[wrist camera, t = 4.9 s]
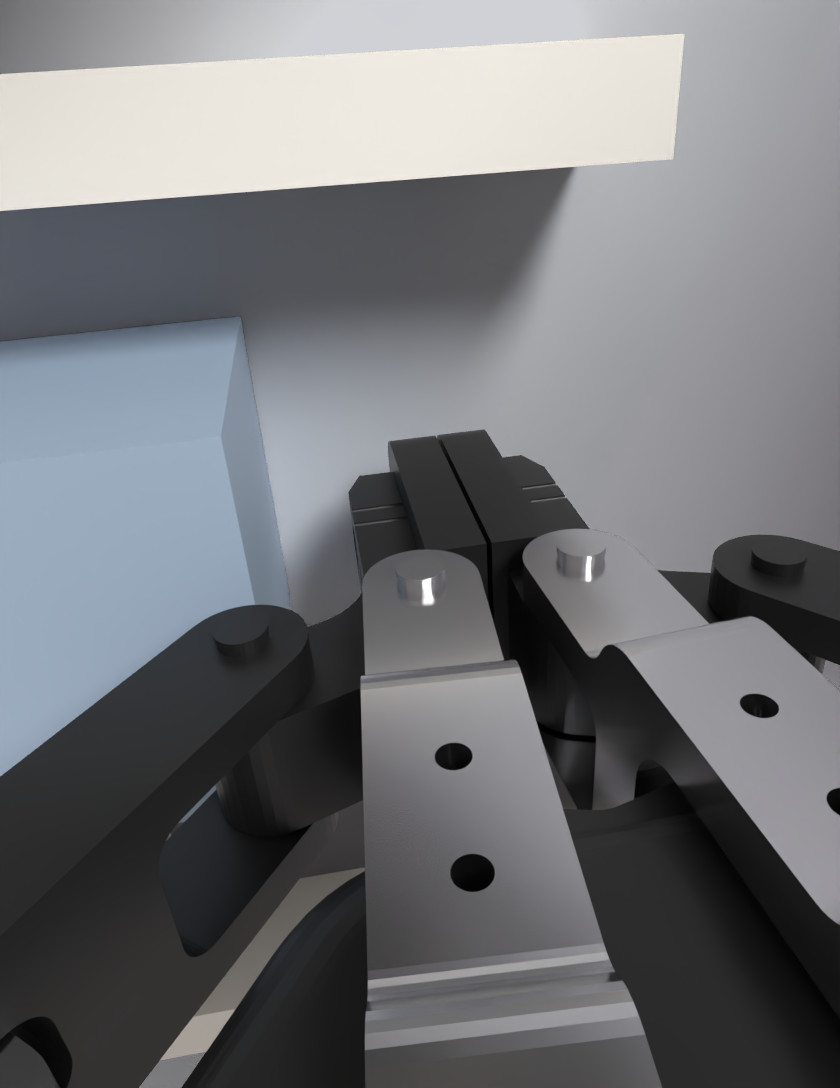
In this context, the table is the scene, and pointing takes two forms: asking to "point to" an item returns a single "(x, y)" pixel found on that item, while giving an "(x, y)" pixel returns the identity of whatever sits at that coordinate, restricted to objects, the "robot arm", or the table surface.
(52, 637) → the block
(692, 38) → the table surface
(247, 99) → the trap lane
